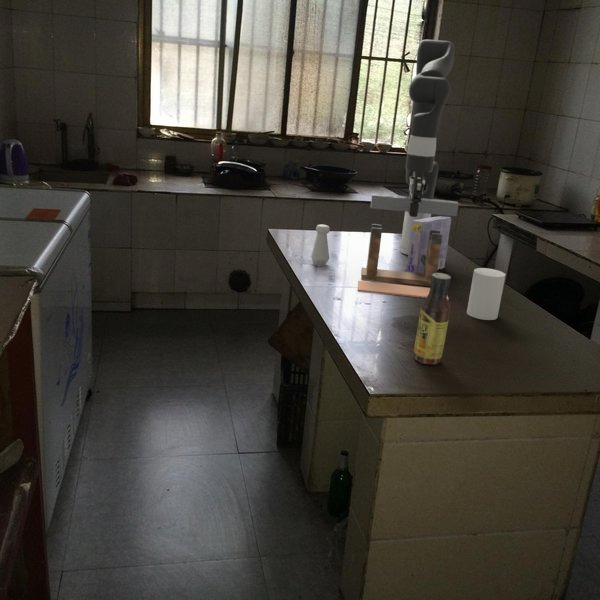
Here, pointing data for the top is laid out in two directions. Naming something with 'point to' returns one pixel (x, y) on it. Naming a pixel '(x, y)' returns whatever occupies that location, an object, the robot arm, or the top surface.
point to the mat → (393, 289)
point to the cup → (485, 293)
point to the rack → (399, 276)
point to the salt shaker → (321, 246)
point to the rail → (404, 204)
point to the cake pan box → (426, 242)
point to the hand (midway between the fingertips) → (412, 214)
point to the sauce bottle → (433, 321)
